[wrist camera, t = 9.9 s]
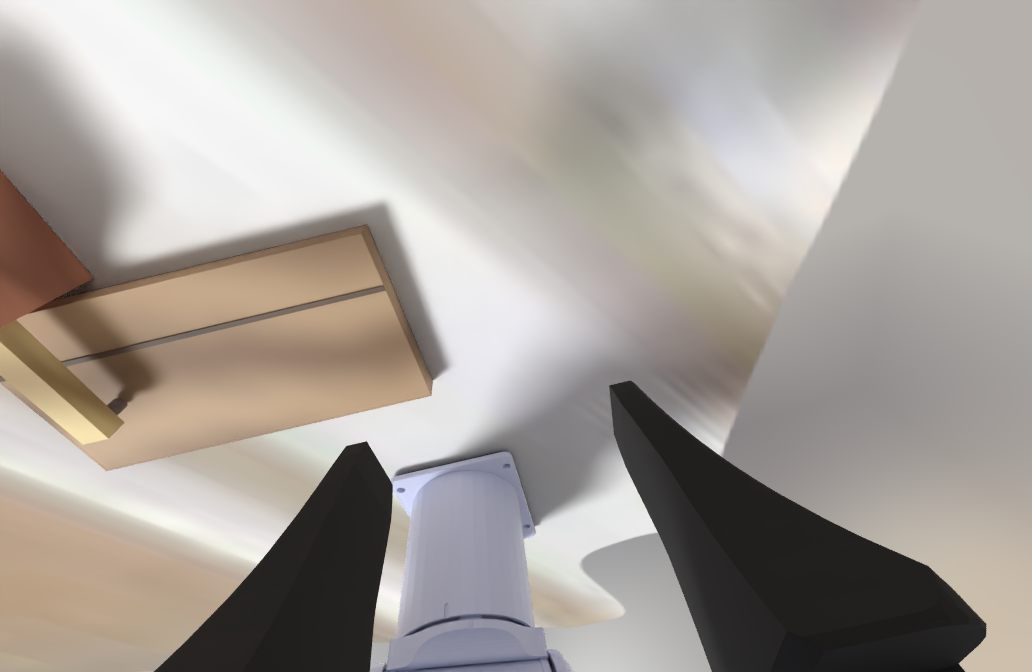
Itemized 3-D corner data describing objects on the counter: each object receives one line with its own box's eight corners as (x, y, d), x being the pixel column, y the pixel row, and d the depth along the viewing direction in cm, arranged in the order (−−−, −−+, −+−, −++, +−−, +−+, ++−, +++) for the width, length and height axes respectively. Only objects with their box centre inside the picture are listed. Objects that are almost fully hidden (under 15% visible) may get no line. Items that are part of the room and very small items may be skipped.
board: (432, 381, 22) (431, 396, 21) (122, 453, 23) (105, 472, 21) (367, 224, 17) (360, 234, 16) (-29, 320, 18) (-60, 335, 17)
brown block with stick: (185, 381, 21) (113, 458, 16) (111, 398, 21) (21, 480, 16) (-12, 154, 15) (-204, 185, 10) (-116, 180, 15) (-347, 220, 10)
